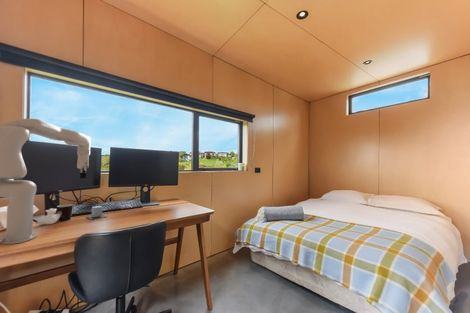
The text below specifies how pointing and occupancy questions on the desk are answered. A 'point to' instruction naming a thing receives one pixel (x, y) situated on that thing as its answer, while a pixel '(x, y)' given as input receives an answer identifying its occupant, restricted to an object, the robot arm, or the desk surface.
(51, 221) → the duck figurine
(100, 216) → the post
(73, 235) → the desk surface
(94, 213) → the cap
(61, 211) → the coffee mug
